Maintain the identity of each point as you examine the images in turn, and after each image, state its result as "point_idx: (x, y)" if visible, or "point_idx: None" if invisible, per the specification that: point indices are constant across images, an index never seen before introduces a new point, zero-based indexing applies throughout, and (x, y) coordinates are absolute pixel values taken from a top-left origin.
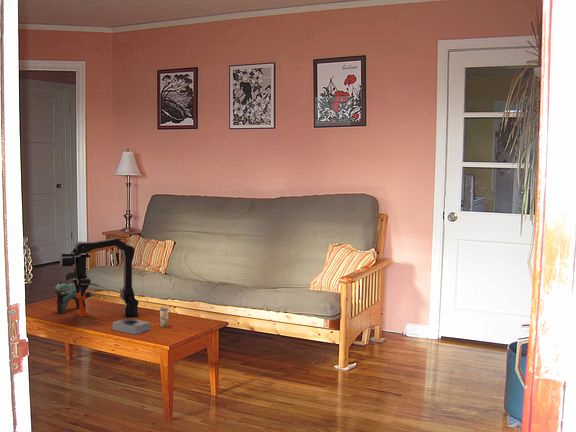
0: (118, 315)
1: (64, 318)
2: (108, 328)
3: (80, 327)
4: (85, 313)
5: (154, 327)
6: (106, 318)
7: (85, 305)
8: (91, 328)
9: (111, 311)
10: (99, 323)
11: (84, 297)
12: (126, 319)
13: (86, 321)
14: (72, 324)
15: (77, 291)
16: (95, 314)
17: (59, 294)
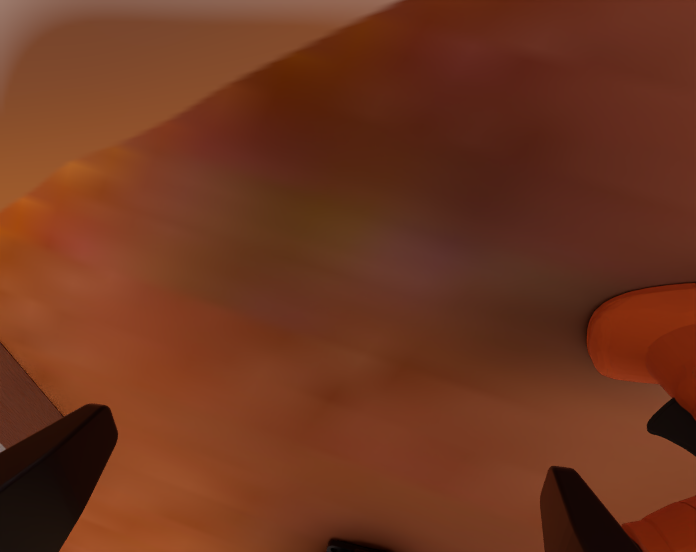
0: (426, 526)
1: (688, 95)
2: (48, 332)
3: (148, 145)
4: (609, 352)
5: None
6: (380, 435)
7: (648, 421)
8: (81, 223)
9: None
10: (233, 335)
11: (662, 512)
12: None
13: (365, 270)
14: (310, 104)
15: (559, 522)
16: (601, 426)
17: None
